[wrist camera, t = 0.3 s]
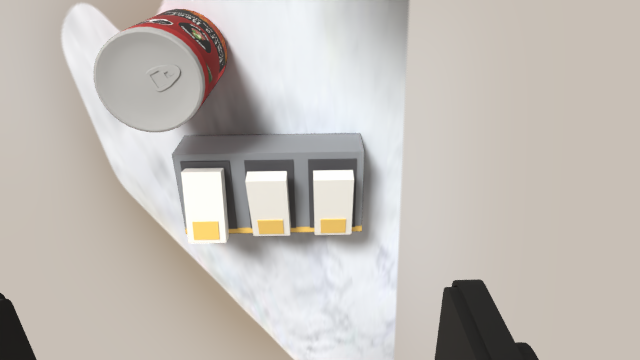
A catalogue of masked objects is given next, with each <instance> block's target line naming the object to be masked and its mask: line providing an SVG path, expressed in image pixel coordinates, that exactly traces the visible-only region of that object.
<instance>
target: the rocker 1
mask: <svg viewBox="0 0 640 360" xmlns="http://www.w3.org/2000/svg"><path fill="white" fill-rule="evenodd" d="M181 177H182V186H183V196H184V206H185V215H186V225H187V235H188V243H226V242H227V240H228V238H229V230H228V217H227V203H226V190H225V177H224V168H185V169H184V170H183V171H182V172H181Z"/></svg>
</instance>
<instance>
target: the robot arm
mask: <svg viewBox="0 0 640 360" xmlns="http://www.w3.org/2000/svg"><path fill="white" fill-rule="evenodd" d="M0 360H36V357H35V355H34V353H33V350H32V348H31V346H30V344H29V341H28V339H27V336H26V334H25V332H24V330H23V327H22V325H21V323H20V320H19V318H18V316H17V313H16V311H15V309H14V306H13V305H12V302H11V301H10V300H9V299H6V298H5V297H4V295H3V294H1V293H0ZM435 360H539V359H538V358H537V356H536V354H535V352H534V351H533V349H532V348H531V347H530V346H529V345H528V344H527V343H522V342H521V343H515V342H514V340H513V338H512V336H511V334H510V332H509V330H508V328H507V326H506V325H505V322H504V321H503V319H502V317H501V315H500V313H499V311H498V309H497V307H496V305H495V303H494V301H493V299H492V297H491V295H490V294H489V292H488V290H487V288H486V286H485V284H484V283H483V281H482V280H455V281H453V283H452V287H446V288H445V289H444V292H443V299H442V307H441V315H440V323H439V330H438V338H437V346H436V354H435Z"/></svg>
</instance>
